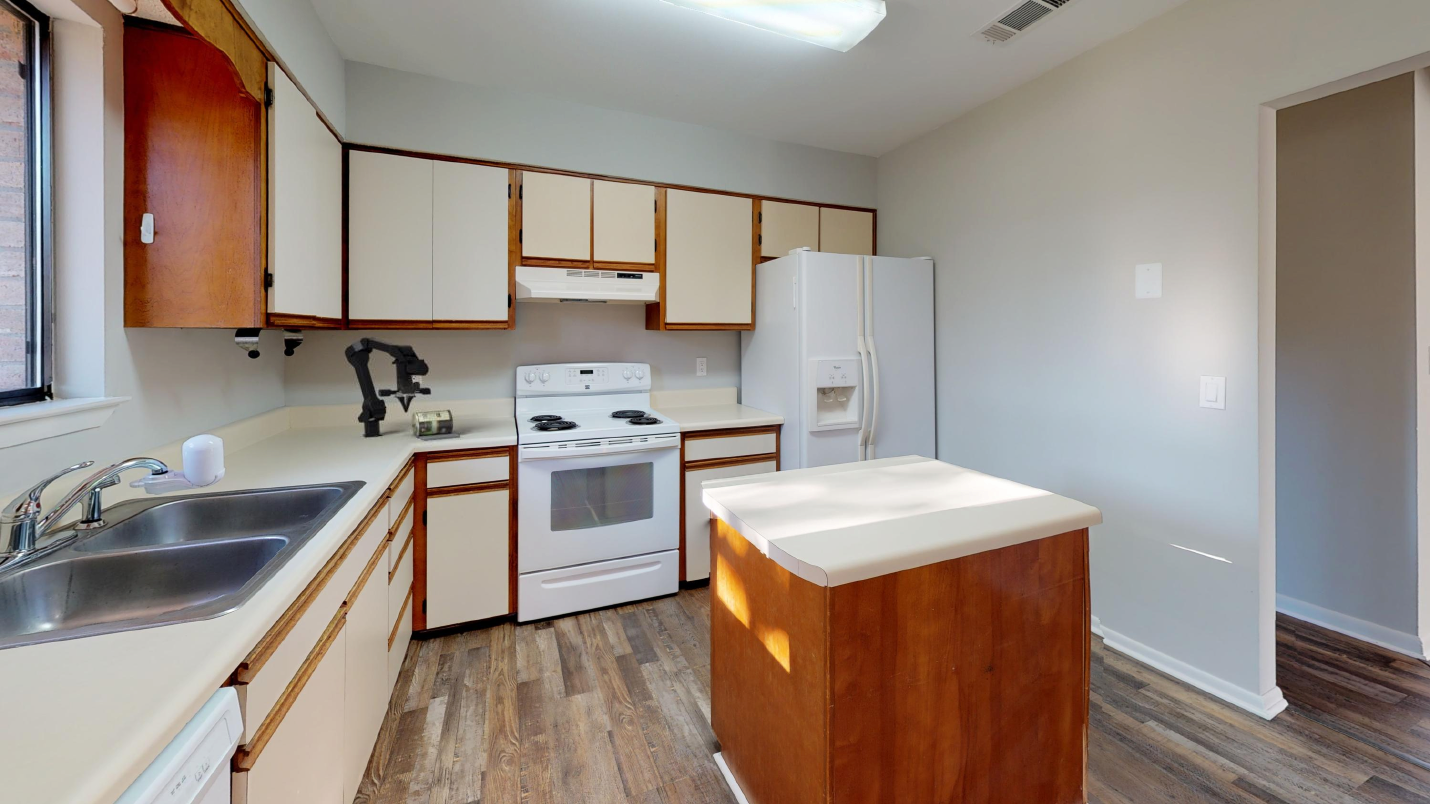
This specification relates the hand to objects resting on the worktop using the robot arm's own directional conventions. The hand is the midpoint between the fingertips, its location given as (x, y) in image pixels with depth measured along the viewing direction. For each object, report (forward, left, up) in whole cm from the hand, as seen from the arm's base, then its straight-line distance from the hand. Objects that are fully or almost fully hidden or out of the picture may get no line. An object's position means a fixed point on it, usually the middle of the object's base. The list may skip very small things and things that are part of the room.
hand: (406, 412), depth 235 cm
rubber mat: (0, +11, -11) cm, 16 cm away
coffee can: (0, +3, -5) cm, 6 cm away
